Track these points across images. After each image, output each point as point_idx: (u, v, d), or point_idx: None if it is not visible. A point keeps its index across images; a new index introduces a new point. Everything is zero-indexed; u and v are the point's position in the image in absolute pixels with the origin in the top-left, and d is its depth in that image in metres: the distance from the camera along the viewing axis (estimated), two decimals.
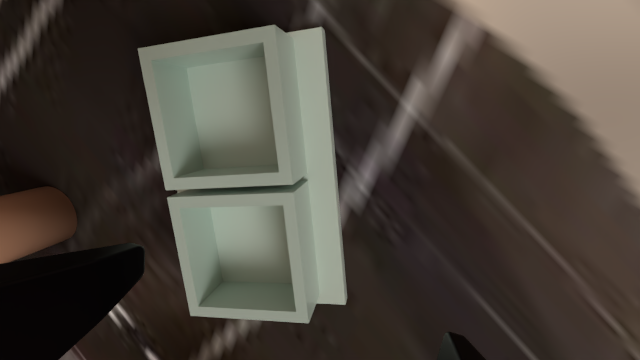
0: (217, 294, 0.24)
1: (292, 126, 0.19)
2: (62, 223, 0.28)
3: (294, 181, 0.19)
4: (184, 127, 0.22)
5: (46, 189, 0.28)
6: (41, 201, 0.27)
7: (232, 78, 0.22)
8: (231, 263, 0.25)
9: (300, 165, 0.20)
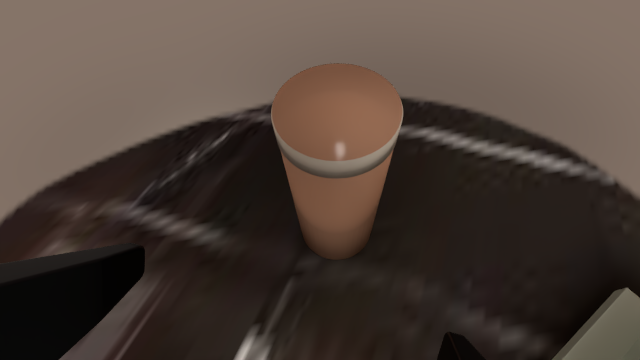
0: None
1: None
2: (353, 250, 0.22)
3: None
4: None
5: None
6: None
7: None
8: None
9: None
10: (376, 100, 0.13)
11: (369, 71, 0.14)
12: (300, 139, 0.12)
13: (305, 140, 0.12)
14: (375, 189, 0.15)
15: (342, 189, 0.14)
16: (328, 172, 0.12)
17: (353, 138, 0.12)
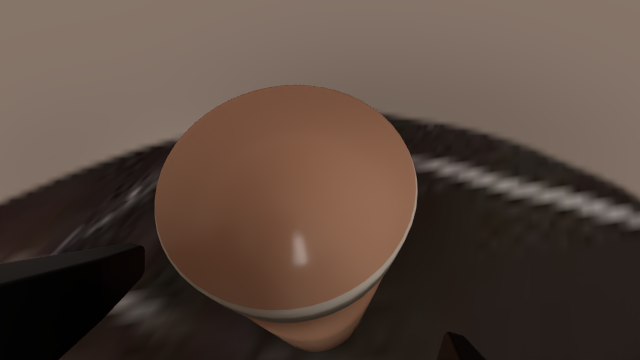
0: None
1: None
2: (337, 344, 0.15)
3: None
4: None
5: None
6: None
7: None
8: None
9: None
10: (364, 159, 0.07)
11: (353, 101, 0.08)
12: (200, 250, 0.06)
13: (210, 253, 0.06)
14: (364, 303, 0.09)
15: (299, 326, 0.07)
16: (261, 318, 0.06)
17: (312, 251, 0.06)
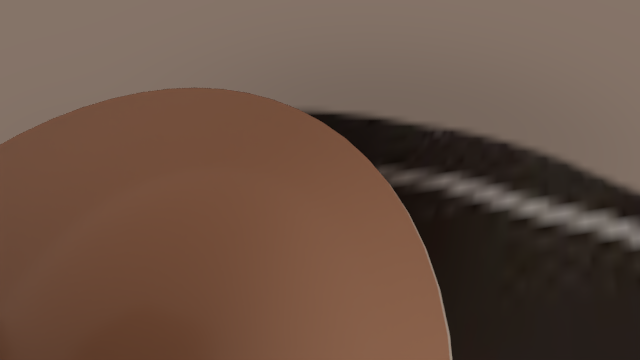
0: None
1: None
2: None
3: None
4: None
5: None
6: None
7: None
8: None
9: None
10: (320, 274, 0.03)
11: (305, 122, 0.04)
12: None
13: None
14: None
15: None
16: None
17: None
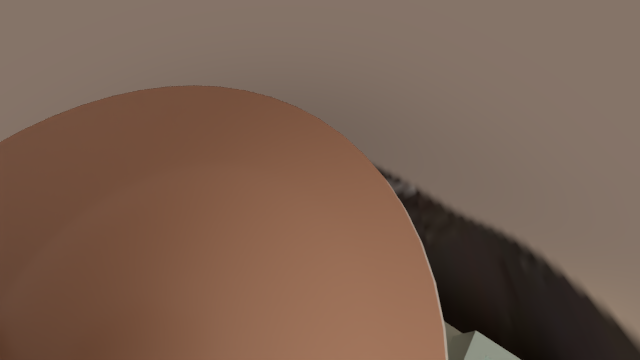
0: None
1: None
2: None
3: None
4: None
5: None
6: None
7: None
8: None
9: None
10: (316, 270, 0.03)
11: (303, 119, 0.04)
12: None
13: None
14: None
15: None
16: None
17: None
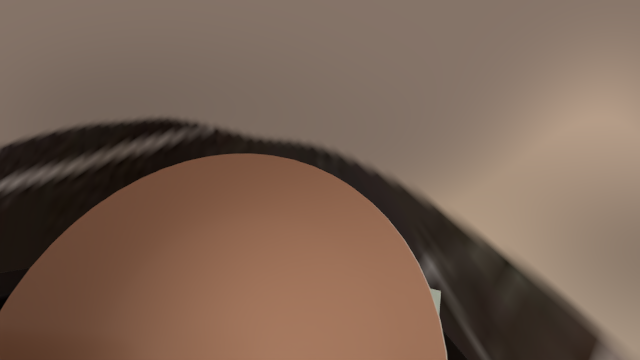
0: None
1: None
2: None
3: None
4: None
5: None
6: None
7: None
8: None
9: None
10: (356, 308, 0.04)
11: (340, 187, 0.05)
12: None
13: None
14: None
15: None
16: None
17: None
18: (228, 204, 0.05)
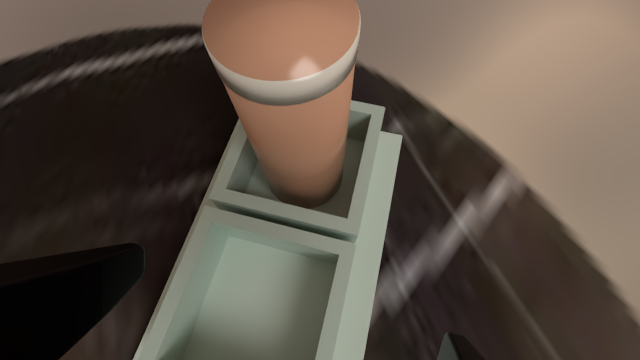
0: None
1: None
2: (321, 198, 0.20)
3: (357, 235, 0.18)
4: (251, 158, 0.22)
5: None
6: None
7: None
8: (209, 333, 0.18)
9: None
10: (330, 11, 0.11)
11: None
12: (234, 55, 0.10)
13: (239, 56, 0.10)
14: (333, 124, 0.13)
15: (292, 121, 0.12)
16: (269, 97, 0.10)
17: (297, 54, 0.10)
18: None
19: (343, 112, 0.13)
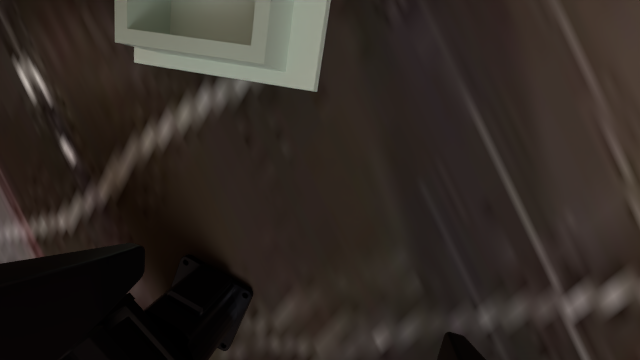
0: None
1: None
2: None
3: None
4: None
5: None
6: None
7: None
8: (185, 16, 0.20)
9: None
10: None
11: None
12: None
13: None
14: None
15: None
16: None
17: None
18: None
19: None
